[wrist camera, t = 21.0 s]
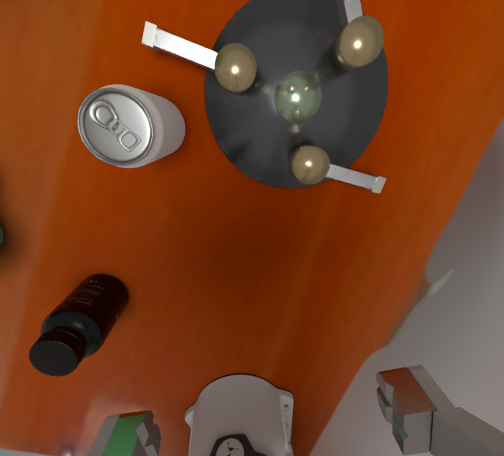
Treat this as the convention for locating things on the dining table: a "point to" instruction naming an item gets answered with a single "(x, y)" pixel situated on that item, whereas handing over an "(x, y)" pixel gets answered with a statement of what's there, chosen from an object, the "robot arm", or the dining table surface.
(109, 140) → the can
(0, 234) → the mug
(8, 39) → the dining table surface
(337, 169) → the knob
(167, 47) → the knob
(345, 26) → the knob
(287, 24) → the levelling plate
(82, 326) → the supplement bottle
